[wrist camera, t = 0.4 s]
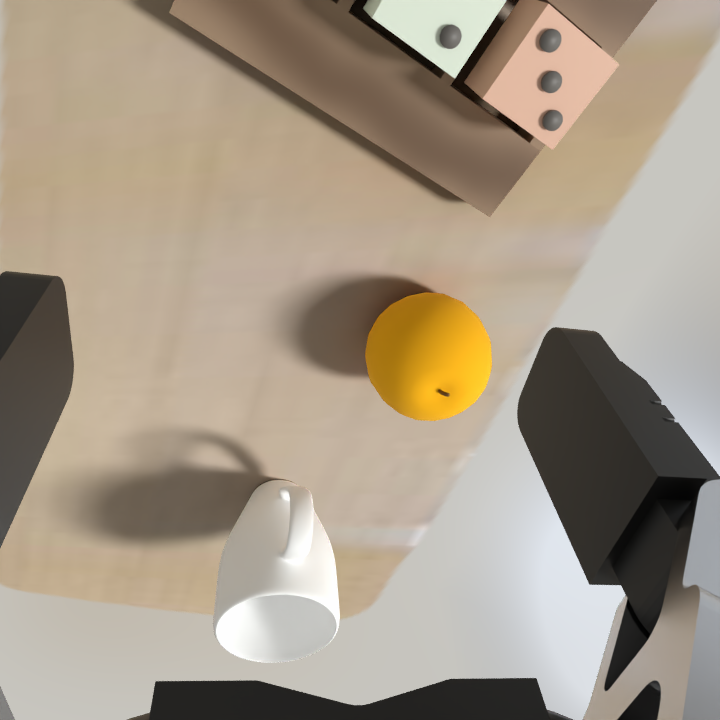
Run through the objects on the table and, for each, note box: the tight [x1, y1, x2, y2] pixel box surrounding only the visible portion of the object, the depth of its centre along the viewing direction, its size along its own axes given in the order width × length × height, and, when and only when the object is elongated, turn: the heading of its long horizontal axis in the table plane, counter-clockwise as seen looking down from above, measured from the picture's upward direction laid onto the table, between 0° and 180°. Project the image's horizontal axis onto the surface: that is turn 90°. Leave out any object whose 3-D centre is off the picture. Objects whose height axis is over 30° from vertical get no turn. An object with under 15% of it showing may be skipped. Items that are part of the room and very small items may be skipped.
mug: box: [213, 480, 340, 663], centre depth 44 cm, size 12×8×11 cm
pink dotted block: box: [464, 0, 619, 150], centre depth 29 cm, size 4×4×4 cm
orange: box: [365, 292, 492, 421], centre depth 38 cm, size 8×8×8 cm
